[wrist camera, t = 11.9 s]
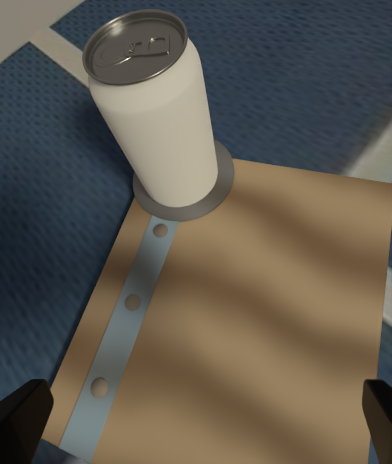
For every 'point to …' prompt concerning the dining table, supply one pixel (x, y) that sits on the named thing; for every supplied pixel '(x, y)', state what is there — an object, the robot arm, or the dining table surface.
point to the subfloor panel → (232, 325)
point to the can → (155, 103)
